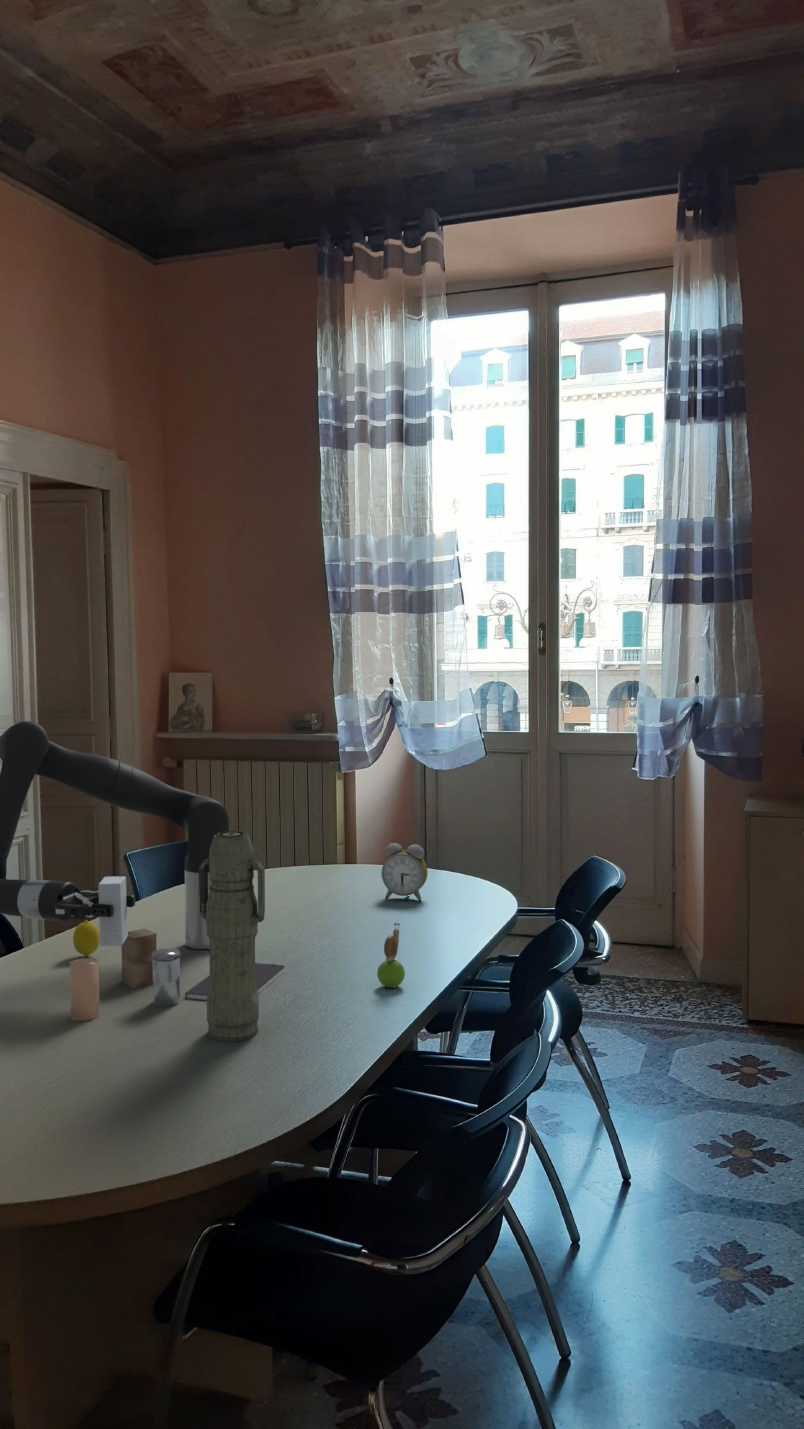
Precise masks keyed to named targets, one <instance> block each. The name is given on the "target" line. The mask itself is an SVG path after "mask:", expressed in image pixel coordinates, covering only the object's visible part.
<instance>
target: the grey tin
mask: <svg viewBox="0 0 804 1429" xmlns="http://www.w3.org/2000/svg"><path fill="white" fill-rule="evenodd" d="M180 958H181V951H180V950H179V949H177V948H176V949H175V948H160V949H157V950H156V951H153V952H152V963H153V984H152V1004H153V1006H155V1007H159V1008H167V1007H174V1006H177V1005H179V1004H180V1003H181V971H180V970H181V969H180V968H181V966H180V963H181V961H180Z"/></svg>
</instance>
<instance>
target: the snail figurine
mask: <svg viewBox="0 0 804 1429" xmlns="http://www.w3.org/2000/svg"><path fill="white" fill-rule="evenodd" d="M393 925H394V929H393V931H392V934H391V935H388V936H387V937H386V939H385V941H384V946H383V952H384V956H386V958H385V960H384V961H383V962H381V963H380V965H379V966H378V968H377V973H376V975H377V978H378V981H379V982H380V984H381V985H382V986H384V987H385V986H387V987H386V988H389V987H393V988H395V987H394V986H397V987H398V986H400V985H401V984H402V983H403V981H404V979H405V976H406V973H405V972H406V971H405V968H404V966H403V964H402V963H401V962H399V961H398V960H396V956H397V955H398V949H399V943H400V942H399V941H400V927H399V926H400V923H399V922H397V923H396V922H394V923H393ZM396 926H398V927H397V928H396Z"/></svg>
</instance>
